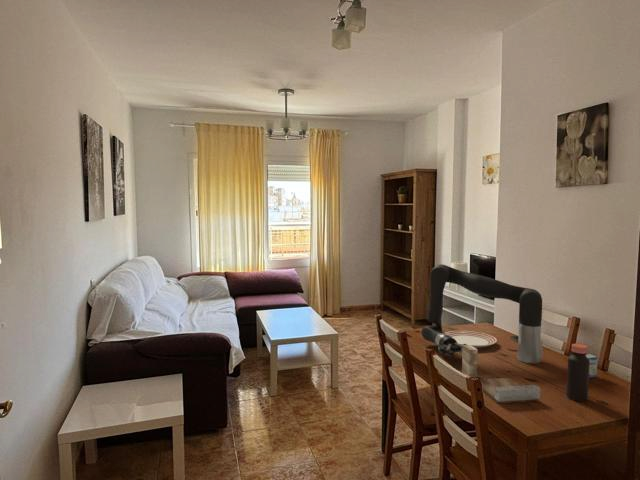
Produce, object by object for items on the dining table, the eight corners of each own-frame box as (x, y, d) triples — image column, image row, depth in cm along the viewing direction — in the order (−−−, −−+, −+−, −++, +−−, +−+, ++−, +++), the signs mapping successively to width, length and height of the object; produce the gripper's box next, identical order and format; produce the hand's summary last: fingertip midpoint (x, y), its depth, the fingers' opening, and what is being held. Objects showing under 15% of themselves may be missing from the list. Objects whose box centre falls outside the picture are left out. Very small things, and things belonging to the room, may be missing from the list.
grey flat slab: (508, 380, 168) (508, 377, 168) (537, 400, 150) (537, 397, 150) (472, 382, 166) (472, 380, 166) (497, 403, 148) (497, 400, 148)
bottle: (578, 393, 156) (580, 342, 155) (592, 401, 150) (595, 348, 148) (562, 394, 155) (564, 343, 154) (575, 402, 149) (578, 349, 147)
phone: (525, 345, 210) (509, 336, 225) (525, 347, 210) (509, 338, 225) (539, 344, 211) (523, 336, 226) (539, 347, 211) (522, 338, 226)
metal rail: (534, 395, 152) (534, 384, 152) (539, 398, 149) (540, 388, 149) (494, 398, 150) (494, 387, 150) (499, 401, 147) (499, 391, 147)
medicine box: (582, 379, 170) (583, 358, 169) (573, 375, 174) (573, 355, 173) (597, 377, 172) (598, 357, 171) (587, 373, 176) (588, 353, 176)
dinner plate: (430, 338, 224) (431, 332, 224) (469, 333, 235) (470, 327, 234) (466, 355, 199) (466, 348, 199) (508, 347, 209) (508, 341, 209)
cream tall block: (469, 371, 177) (470, 344, 177) (476, 377, 171) (477, 349, 171) (461, 372, 177) (462, 345, 176) (468, 377, 171) (469, 349, 170)
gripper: (432, 335, 195) (447, 347, 179) (460, 334, 197) (477, 345, 181) (431, 351, 195) (446, 363, 179) (459, 349, 197) (477, 362, 181)
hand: (462, 354), depth 180 cm, fingers open, 8 cm apart
